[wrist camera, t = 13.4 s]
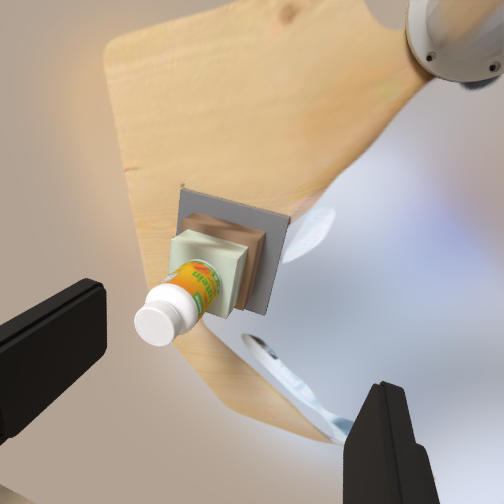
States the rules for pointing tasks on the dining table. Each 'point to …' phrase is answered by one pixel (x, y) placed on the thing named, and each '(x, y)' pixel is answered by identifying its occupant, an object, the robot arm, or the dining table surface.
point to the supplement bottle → (178, 302)
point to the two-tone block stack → (221, 256)
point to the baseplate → (248, 217)
